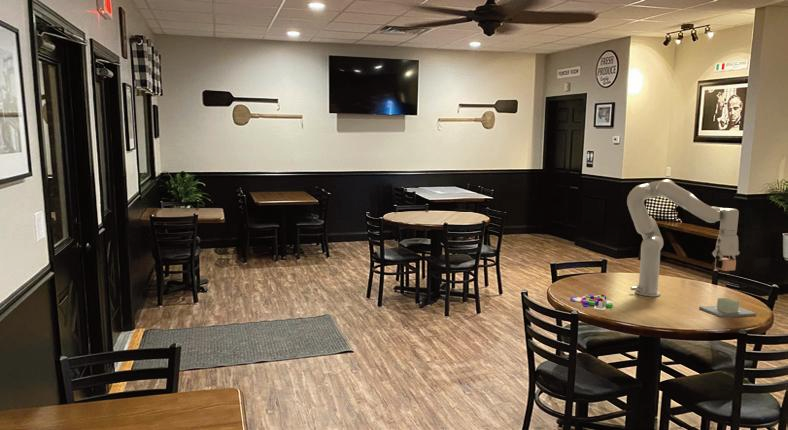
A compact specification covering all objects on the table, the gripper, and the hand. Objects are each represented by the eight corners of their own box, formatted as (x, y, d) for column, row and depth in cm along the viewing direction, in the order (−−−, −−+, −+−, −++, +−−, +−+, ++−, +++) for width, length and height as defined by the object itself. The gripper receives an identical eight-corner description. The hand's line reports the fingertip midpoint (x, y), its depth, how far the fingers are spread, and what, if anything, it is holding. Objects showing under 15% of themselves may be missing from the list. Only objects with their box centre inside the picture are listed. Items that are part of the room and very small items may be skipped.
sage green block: (726, 311, 274) (727, 301, 274) (716, 308, 281) (717, 298, 280) (738, 311, 276) (739, 301, 275) (727, 307, 282) (728, 297, 281)
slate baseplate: (720, 317, 270) (721, 315, 269) (699, 308, 283) (699, 306, 283) (756, 315, 274) (756, 313, 274) (733, 307, 287) (733, 304, 287)
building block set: (573, 294, 307) (574, 286, 306) (614, 300, 298) (615, 291, 298) (567, 307, 284) (567, 298, 283) (611, 312, 276) (611, 304, 275)
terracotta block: (725, 270, 284) (726, 261, 283) (714, 268, 290) (715, 258, 289) (735, 270, 286) (736, 260, 285) (724, 267, 292) (725, 257, 291)
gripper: (719, 234, 280) (716, 270, 282) (748, 233, 284) (744, 268, 286) (707, 232, 287) (704, 266, 290) (736, 231, 291) (732, 265, 294)
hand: (724, 267), depth 288 cm, fingers closed on terracotta block, 6 cm apart
